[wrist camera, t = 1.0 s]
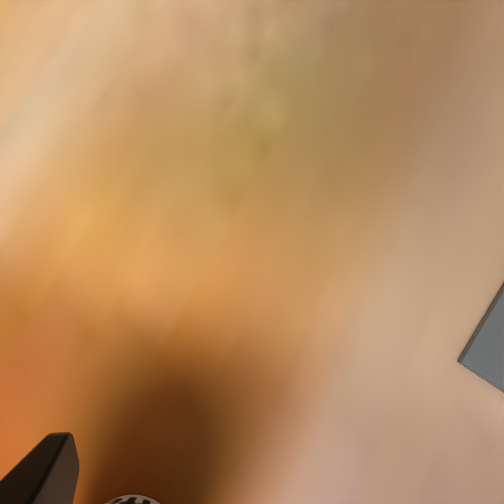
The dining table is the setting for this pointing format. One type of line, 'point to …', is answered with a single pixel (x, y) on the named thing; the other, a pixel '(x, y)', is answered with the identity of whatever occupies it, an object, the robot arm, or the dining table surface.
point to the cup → (132, 500)
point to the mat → (488, 345)
